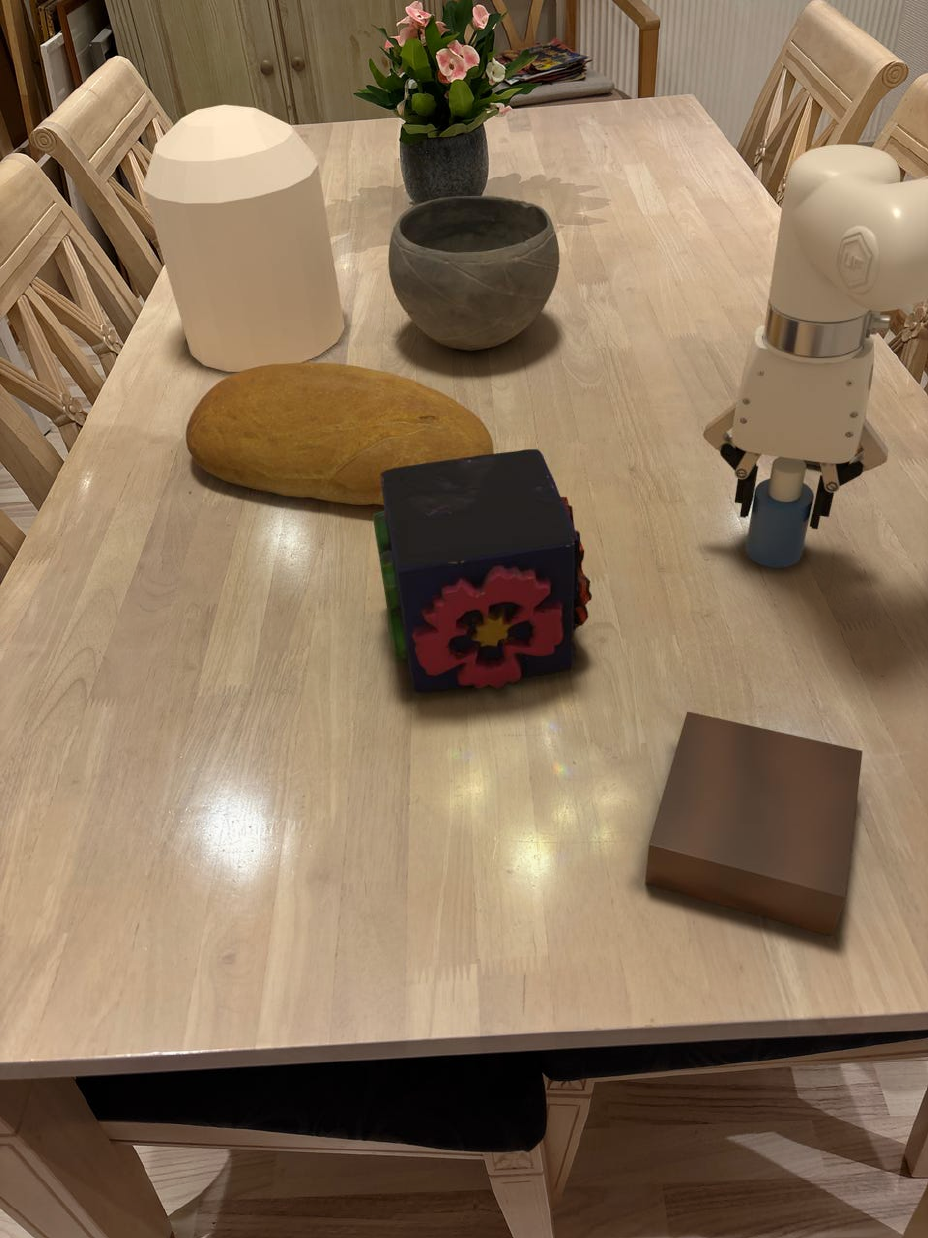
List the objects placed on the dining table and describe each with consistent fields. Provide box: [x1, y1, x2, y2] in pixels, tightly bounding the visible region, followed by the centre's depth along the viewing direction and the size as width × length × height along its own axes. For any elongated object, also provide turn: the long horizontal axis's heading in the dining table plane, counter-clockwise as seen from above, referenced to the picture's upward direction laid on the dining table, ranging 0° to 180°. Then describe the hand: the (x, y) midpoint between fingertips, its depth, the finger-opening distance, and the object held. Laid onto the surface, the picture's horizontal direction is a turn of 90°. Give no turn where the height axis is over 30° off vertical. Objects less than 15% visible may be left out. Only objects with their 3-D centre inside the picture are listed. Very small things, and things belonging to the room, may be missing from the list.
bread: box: [185, 361, 495, 506], centre depth 103 cm, size 18×35×10 cm, turn 70°
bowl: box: [388, 195, 560, 352], centre depth 120 cm, size 21×21×15 cm
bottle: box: [745, 456, 815, 569], centre depth 86 cm, size 5×5×10 cm
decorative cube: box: [372, 448, 593, 693], centre depth 80 cm, size 16×16×14 cm
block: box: [644, 711, 863, 937], centre depth 66 cm, size 12×12×4 cm
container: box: [143, 104, 346, 373], centre depth 121 cm, size 21×21×28 cm
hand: (780, 512), depth 87 cm, fingers open, 5 cm apart
